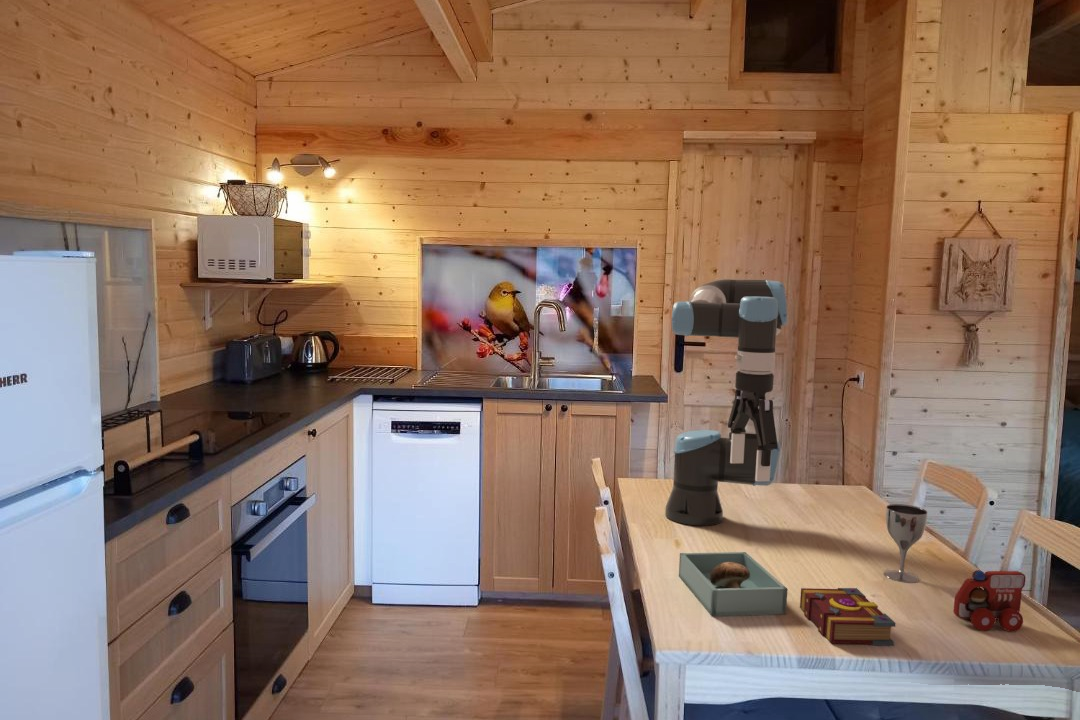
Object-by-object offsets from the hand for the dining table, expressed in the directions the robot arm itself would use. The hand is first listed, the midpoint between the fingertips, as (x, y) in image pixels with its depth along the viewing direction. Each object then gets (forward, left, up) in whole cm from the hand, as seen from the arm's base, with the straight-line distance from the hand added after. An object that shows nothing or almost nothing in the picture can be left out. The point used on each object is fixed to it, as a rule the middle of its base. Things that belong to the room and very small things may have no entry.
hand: (749, 471), depth 157 cm
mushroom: (+8, -6, -22) cm, 25 cm away
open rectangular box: (+8, -6, -23) cm, 25 cm away
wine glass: (+1, +36, -23) cm, 43 cm away
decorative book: (+23, +10, -24) cm, 34 cm away
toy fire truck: (+24, +38, -23) cm, 50 cm away
